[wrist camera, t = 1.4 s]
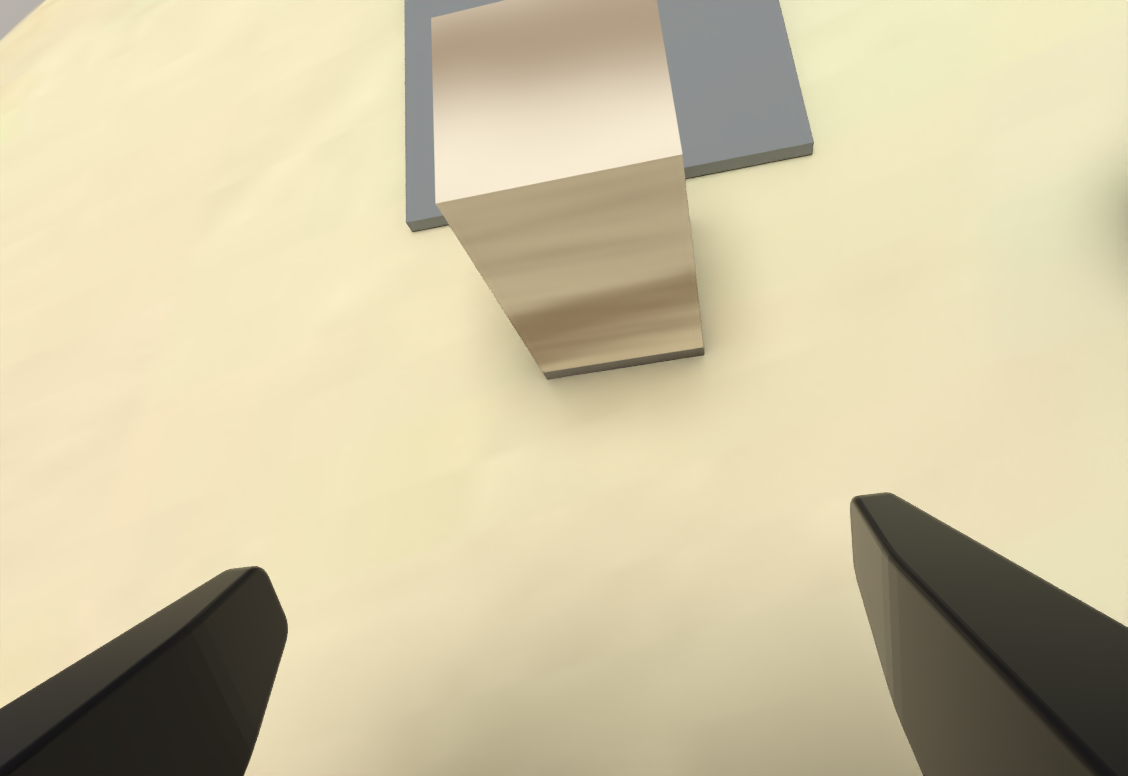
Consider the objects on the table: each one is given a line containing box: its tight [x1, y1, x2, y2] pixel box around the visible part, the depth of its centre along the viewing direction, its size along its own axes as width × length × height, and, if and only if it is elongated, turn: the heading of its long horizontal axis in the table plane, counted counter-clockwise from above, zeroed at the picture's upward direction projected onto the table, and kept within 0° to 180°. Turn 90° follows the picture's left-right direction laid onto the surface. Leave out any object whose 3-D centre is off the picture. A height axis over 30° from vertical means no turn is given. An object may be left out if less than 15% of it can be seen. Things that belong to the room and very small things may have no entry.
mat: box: [405, 0, 814, 231], centre depth 29 cm, size 14×14×1 cm
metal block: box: [431, 0, 704, 379], centre depth 21 cm, size 5×5×10 cm
